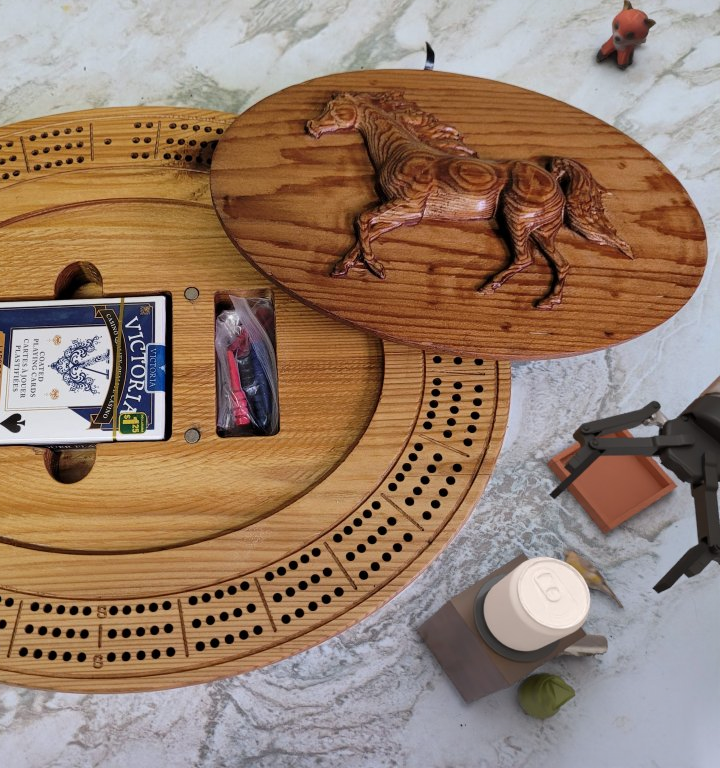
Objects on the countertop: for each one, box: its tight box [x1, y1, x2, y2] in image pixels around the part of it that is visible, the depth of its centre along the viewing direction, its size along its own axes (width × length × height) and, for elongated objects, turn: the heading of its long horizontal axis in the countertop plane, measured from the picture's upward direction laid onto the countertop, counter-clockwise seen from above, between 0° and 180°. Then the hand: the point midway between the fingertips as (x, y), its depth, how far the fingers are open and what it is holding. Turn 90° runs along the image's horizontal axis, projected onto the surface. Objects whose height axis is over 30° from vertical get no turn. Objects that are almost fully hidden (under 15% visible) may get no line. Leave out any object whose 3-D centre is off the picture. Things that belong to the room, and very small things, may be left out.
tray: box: [546, 429, 678, 535], centre depth 121 cm, size 13×13×2 cm
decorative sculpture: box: [555, 548, 625, 658], centre depth 110 cm, size 16×10×7 cm, turn 154°
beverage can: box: [484, 556, 591, 651], centre depth 89 cm, size 8×8×12 cm
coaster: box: [473, 573, 561, 662], centre depth 94 cm, size 10×10×1 cm
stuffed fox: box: [595, 0, 657, 70], centre depth 154 cm, size 8×11×12 cm
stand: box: [416, 552, 588, 704], centre depth 103 cm, size 11×11×20 cm
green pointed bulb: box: [517, 672, 576, 720], centre depth 105 cm, size 6×5×10 cm
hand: (606, 539), depth 87 cm, fingers open, 13 cm apart
